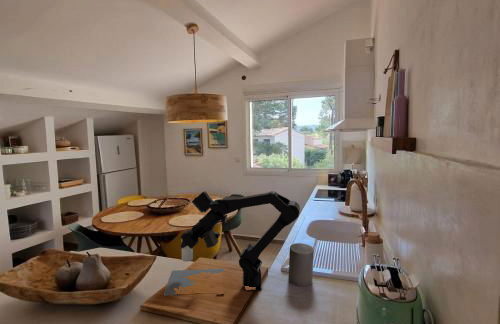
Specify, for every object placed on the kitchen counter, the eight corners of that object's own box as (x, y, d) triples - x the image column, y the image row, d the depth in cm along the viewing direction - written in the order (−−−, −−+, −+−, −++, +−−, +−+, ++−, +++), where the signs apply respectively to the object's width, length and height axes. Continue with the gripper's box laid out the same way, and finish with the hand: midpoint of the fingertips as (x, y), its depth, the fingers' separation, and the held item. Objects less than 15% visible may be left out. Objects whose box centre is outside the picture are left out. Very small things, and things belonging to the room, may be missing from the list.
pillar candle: (283, 277, 114) (284, 242, 112) (302, 271, 118) (303, 238, 117) (298, 289, 105) (299, 252, 104) (317, 283, 110) (319, 247, 108)
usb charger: (194, 257, 114) (194, 230, 113) (190, 262, 109) (189, 234, 108) (184, 256, 115) (184, 229, 113) (179, 260, 110) (179, 233, 109)
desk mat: (224, 270, 119) (224, 268, 119) (224, 294, 101) (224, 292, 101) (172, 272, 116) (172, 270, 116) (162, 297, 99) (162, 295, 99)
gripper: (215, 245, 99) (187, 271, 102) (230, 228, 117) (205, 250, 120) (194, 222, 99) (167, 248, 103) (212, 208, 118) (188, 231, 121)
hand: (184, 245), depth 112 cm, fingers closed on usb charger, 4 cm apart
